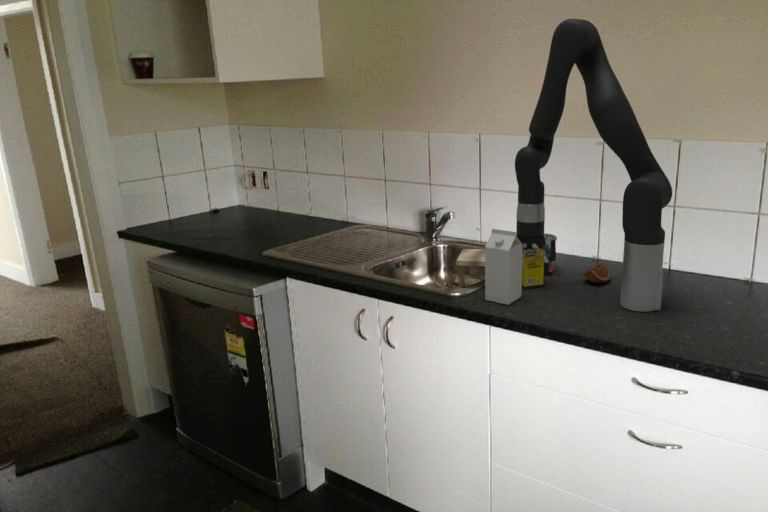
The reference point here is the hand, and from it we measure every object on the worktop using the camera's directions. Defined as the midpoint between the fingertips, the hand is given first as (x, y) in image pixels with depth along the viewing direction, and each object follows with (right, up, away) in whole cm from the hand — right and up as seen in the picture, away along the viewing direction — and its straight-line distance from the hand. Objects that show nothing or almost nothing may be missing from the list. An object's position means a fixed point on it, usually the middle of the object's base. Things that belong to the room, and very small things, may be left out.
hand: (529, 273), depth 181 cm
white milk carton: (-9, -7, -9) cm, 14 cm away
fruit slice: (+19, -3, +1) cm, 19 cm away
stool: (-13, -2, +5) cm, 14 cm away
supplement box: (0, -3, +1) cm, 3 cm away
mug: (+7, +1, +13) cm, 15 cm away
